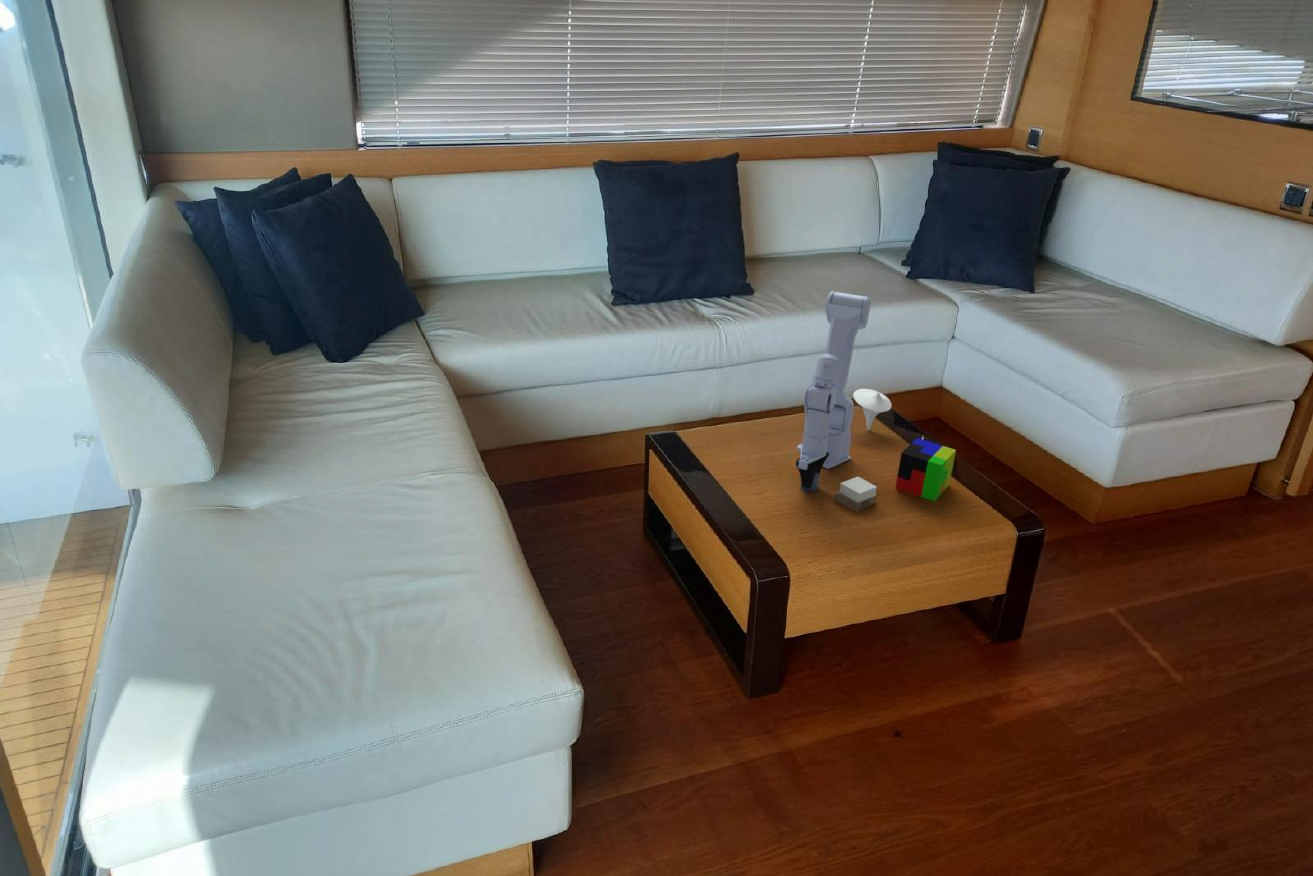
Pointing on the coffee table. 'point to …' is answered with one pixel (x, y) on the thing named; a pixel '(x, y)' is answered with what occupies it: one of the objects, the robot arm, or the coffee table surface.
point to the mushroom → (871, 403)
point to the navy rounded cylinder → (814, 484)
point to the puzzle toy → (925, 469)
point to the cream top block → (858, 489)
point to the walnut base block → (854, 502)
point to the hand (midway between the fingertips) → (809, 483)
